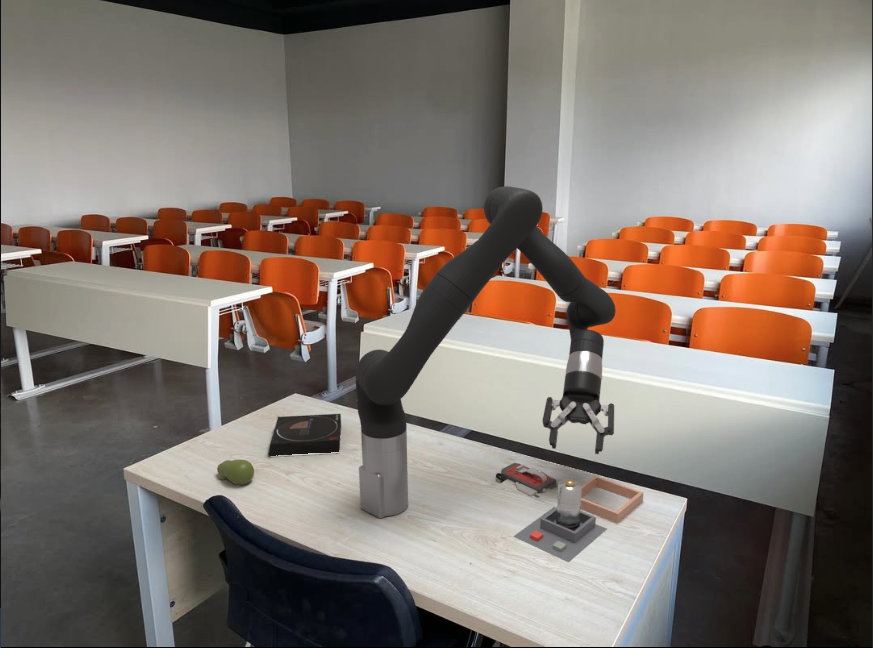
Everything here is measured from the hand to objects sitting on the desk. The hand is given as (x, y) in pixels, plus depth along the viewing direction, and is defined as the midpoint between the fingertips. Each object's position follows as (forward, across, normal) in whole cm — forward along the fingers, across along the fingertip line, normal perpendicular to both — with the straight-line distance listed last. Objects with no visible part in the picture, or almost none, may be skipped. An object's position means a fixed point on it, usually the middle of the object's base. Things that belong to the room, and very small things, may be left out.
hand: (575, 450), depth 133 cm
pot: (+8, +6, +12) cm, 15 cm away
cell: (+15, 0, +2) cm, 15 cm away
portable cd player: (0, -68, +21) cm, 72 cm away
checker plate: (+17, -1, +2) cm, 18 cm away
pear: (+16, -74, +4) cm, 76 cm away
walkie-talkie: (+6, -8, +14) cm, 17 cm away
